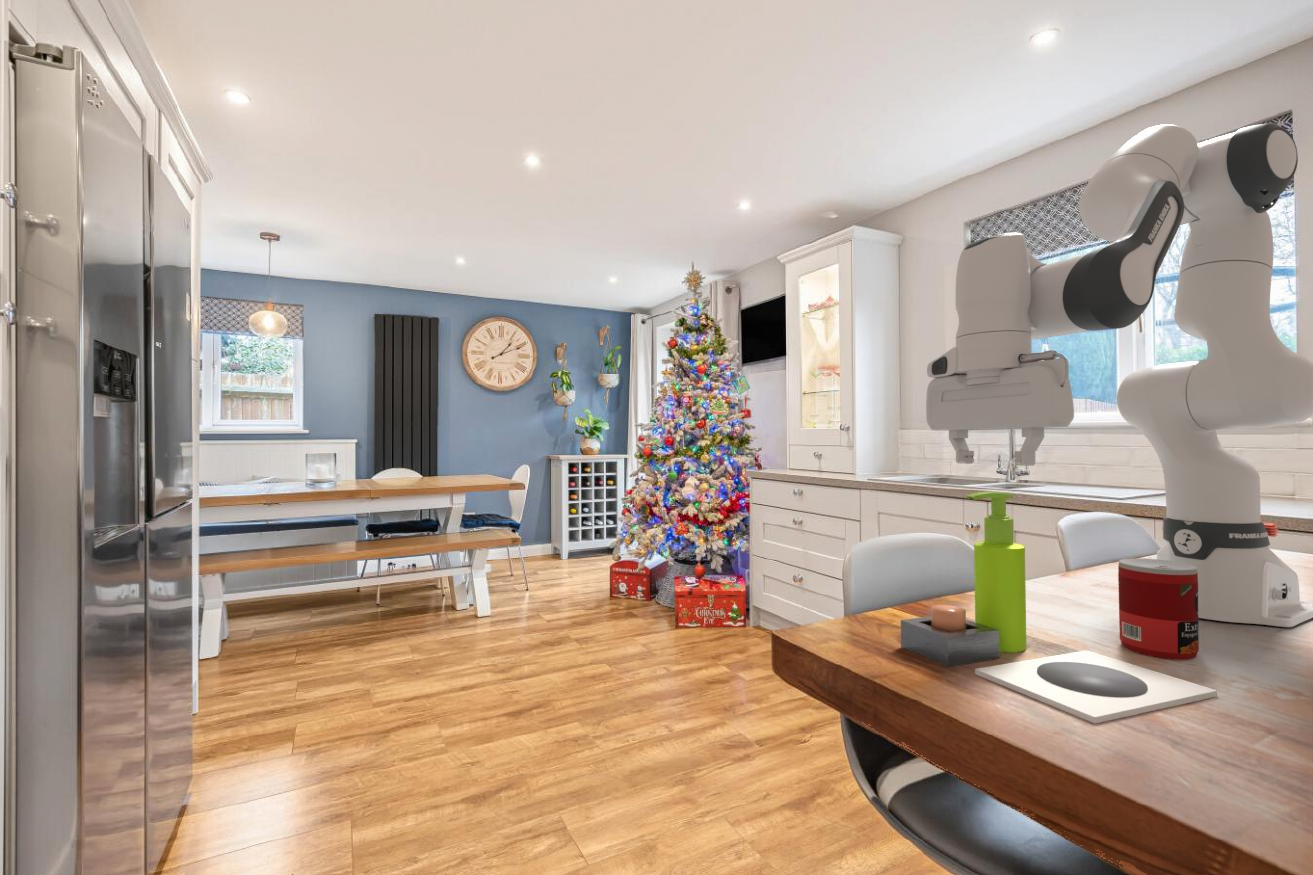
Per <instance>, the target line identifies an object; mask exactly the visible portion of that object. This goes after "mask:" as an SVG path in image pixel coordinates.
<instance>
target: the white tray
mask: <svg viewBox="0 0 1313 875" xmlns="http://www.w3.org/2000/svg"><path fill="white" fill-rule="evenodd" d="M974 675H976V676H979V677H980V678H983V679H986V680H988V681H990V682H993V683H995V684H998V685H1000V686H1003V687H1005V688H1007V689H1009V690H1010V689H1011V690H1012V691H1015V692H1018V693H1020V694H1021V695H1024V696H1027V697H1029V698H1031V699H1034V700H1037V701H1040V702H1042V703H1044V704H1046V705H1049V706H1051V707H1053V708H1056V709H1059V710H1061V711H1064V712H1066V713H1068V714H1070V715H1073V716H1076V717H1078V718H1080V719H1083V720H1085V721H1087V722H1090V723H1092V724H1095V725H1096V724H1100V723H1103V722H1110V721H1113V720H1117V719H1121V718H1126V717H1131V716H1136V715H1139V714H1145V713H1149V712H1153V711H1158V710H1162V709H1167V708H1172V707H1175V706H1180V705H1185V704H1189V703H1193V702H1197V701H1202V700H1208V699H1211V698H1215V697H1216V698H1217V697H1218V690H1216V689H1213V688H1211V687H1207V686H1205V685H1201V684H1198V683H1195V682H1191V681H1187V680H1184V679H1181V678H1177V677H1175V676H1171V675H1168V674H1165V673H1162V672H1158V671H1155V670H1152V669H1149V668H1145V667H1142V666H1139V665H1136V664H1133V663H1129V662H1125V661H1124V660H1120V659H1116V658H1113V657H1110V656H1106V655H1103V654H1100V653H1097V652H1093V651H1090V650H1087V649H1086V650H1081V651H1074V652H1069V653H1063V654H1056V655H1049V656H1044V657H1039V658H1033V659H1028V660H1019V661H1015V662H1007V663H1003V664H1002V663H1001V664H996V665H992V666H991V665H990V666H984V667H979V668H974Z"/></svg>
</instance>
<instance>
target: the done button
mask: <svg viewBox="0 0 1313 875" xmlns="http://www.w3.org/2000/svg"><path fill="white" fill-rule="evenodd" d="M966 613H967V612H966V609H965V608H963V607H960V606H956V605H949V604H948V605H947V604H938V605H937V604H935V605H932V606H931V607H930V616H931V627H934V628H937V629H940V630H943V631H945V632H955V631H962V630H966V620H967V619H966V618H967V614H966Z"/></svg>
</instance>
